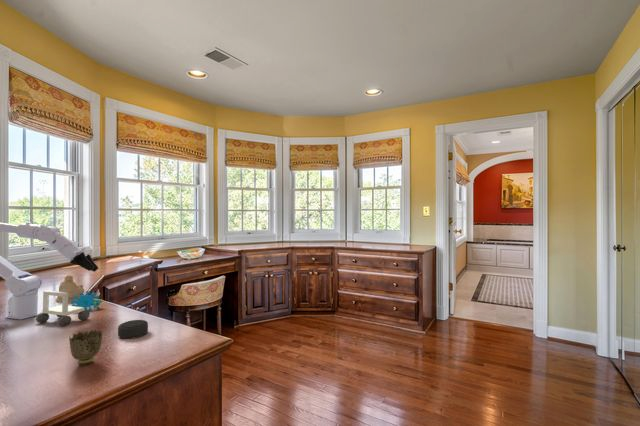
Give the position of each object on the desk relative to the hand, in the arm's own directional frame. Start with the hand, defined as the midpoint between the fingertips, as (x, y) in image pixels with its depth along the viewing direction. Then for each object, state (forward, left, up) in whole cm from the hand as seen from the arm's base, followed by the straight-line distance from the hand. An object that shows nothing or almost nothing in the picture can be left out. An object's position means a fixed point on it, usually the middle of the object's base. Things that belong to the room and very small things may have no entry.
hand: (94, 269), depth 135 cm
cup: (+43, -36, -18) cm, 58 cm away
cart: (0, -12, -18) cm, 21 cm away
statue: (-31, +13, -18) cm, 38 cm away
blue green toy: (-7, +2, -18) cm, 20 cm away
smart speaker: (+37, -15, -18) cm, 43 cm away
